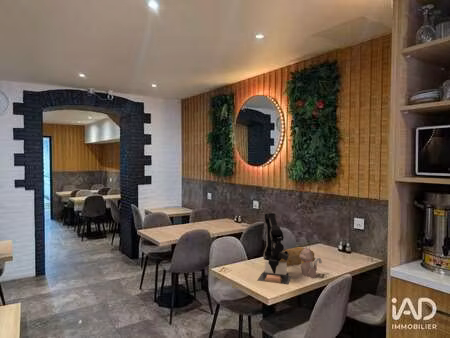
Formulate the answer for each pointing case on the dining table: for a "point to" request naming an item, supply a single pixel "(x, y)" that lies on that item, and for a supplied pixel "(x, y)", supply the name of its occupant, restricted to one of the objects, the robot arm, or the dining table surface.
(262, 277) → the rack
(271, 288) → the dining table surface
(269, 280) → the offcut lower
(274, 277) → the offcut upper
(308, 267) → the toy
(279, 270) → the beige rectangular panel
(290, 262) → the bread
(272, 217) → the robot arm
